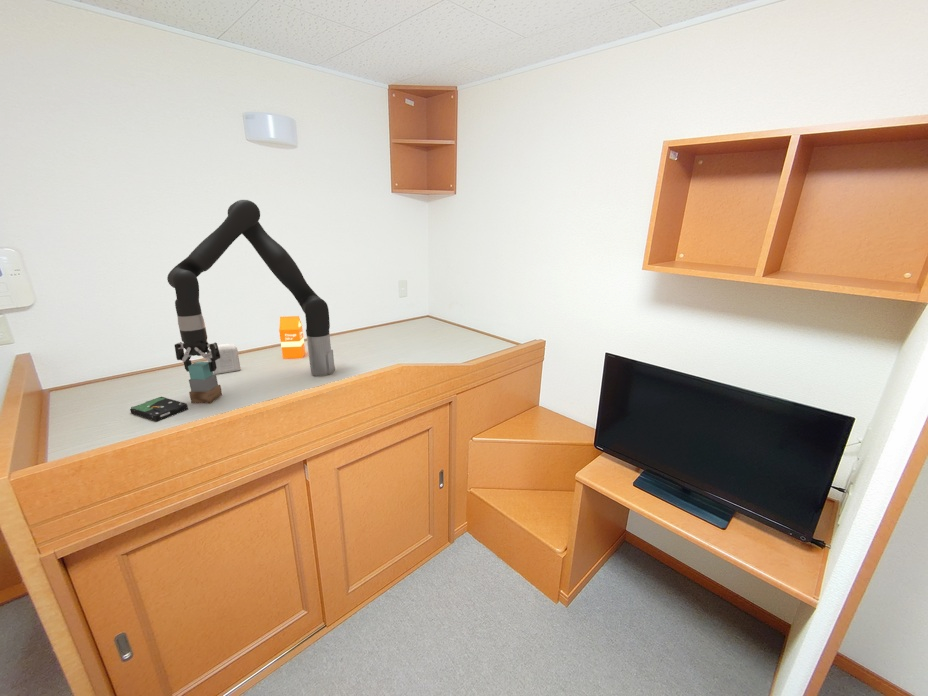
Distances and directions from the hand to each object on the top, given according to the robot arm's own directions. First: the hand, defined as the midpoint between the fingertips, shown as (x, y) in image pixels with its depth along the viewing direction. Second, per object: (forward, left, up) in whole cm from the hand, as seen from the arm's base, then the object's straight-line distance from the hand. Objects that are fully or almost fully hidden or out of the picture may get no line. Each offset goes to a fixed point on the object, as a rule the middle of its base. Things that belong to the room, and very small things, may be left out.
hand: (201, 371), depth 141 cm
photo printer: (+10, -29, -11) cm, 33 cm away
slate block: (0, 0, -7) cm, 7 cm away
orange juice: (-10, -51, -11) cm, 53 cm away
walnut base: (0, 0, -11) cm, 11 cm away
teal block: (0, 0, -2) cm, 2 cm away
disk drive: (+10, +10, -12) cm, 18 cm away
